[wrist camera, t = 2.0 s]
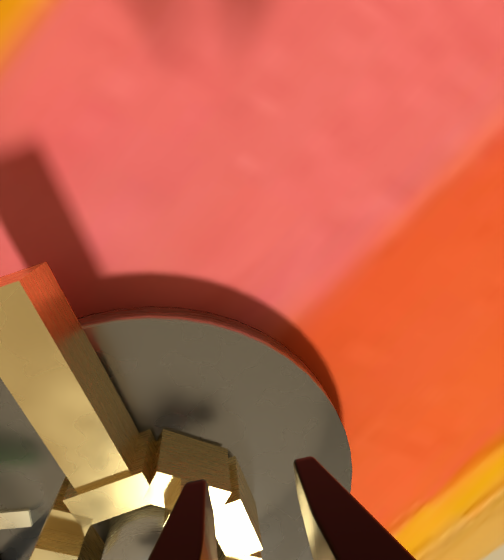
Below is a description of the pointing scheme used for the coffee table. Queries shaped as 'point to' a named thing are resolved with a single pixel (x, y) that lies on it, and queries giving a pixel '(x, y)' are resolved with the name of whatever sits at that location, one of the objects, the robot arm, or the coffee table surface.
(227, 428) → the flange
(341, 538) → the robot arm
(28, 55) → the coffee table surface
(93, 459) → the brass ring wrench
